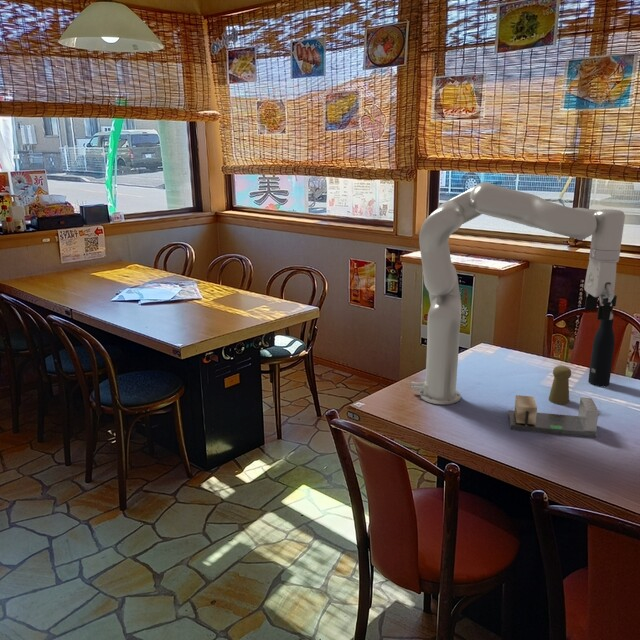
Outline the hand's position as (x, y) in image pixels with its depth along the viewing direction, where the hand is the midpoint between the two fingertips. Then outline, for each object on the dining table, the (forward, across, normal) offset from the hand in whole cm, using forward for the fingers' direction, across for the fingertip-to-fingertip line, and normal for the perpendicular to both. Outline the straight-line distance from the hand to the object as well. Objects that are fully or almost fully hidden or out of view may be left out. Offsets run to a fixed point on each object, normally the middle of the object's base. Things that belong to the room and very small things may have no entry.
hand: (596, 314), depth 171 cm
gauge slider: (+28, +10, -20) cm, 36 cm away
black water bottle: (+30, -23, +12) cm, 40 cm away
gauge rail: (+30, +11, -13) cm, 34 cm away
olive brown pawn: (+30, -7, -5) cm, 31 cm away
